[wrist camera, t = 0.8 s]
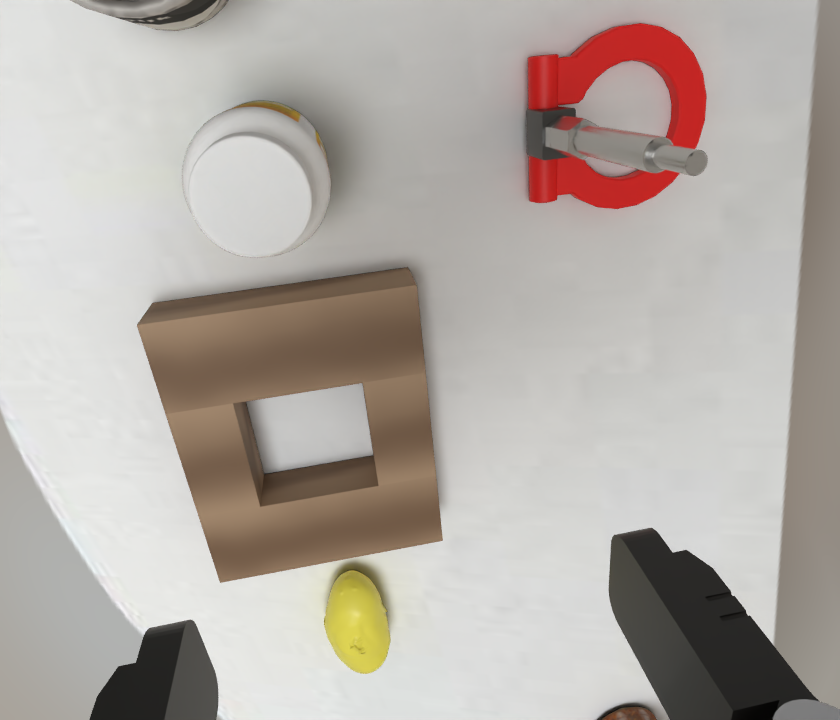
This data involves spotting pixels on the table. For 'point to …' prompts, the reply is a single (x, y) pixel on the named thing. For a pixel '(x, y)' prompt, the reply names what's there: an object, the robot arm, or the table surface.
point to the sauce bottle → (630, 714)
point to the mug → (158, 11)
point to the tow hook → (579, 138)
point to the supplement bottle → (257, 179)
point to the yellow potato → (357, 623)
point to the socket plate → (289, 374)
